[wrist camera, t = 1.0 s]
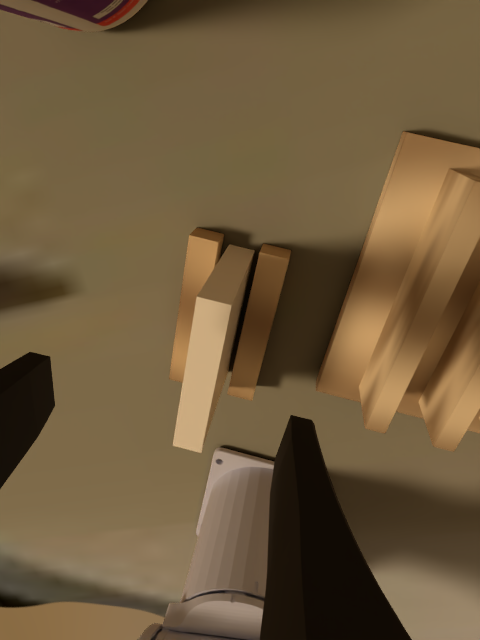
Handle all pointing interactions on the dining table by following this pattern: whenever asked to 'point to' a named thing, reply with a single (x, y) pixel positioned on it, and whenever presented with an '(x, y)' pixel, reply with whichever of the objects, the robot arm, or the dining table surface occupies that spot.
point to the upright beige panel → (211, 346)
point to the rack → (416, 298)
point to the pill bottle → (76, 12)
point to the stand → (258, 314)
